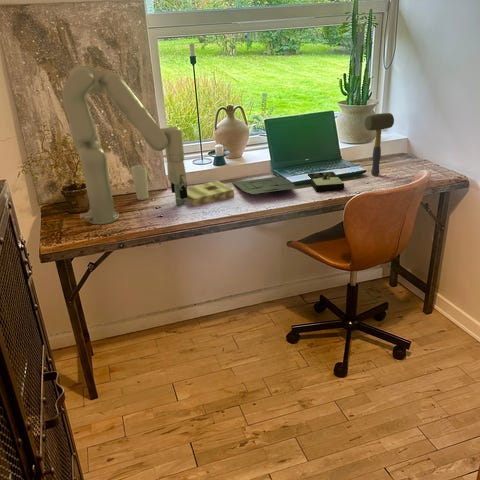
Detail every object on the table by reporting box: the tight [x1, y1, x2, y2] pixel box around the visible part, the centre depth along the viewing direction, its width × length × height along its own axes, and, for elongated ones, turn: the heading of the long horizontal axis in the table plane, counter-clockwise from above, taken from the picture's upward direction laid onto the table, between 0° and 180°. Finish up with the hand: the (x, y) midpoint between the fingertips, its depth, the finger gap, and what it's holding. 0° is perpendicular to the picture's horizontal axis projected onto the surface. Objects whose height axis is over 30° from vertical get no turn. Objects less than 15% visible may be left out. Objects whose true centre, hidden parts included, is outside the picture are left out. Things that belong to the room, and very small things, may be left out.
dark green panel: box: [232, 176, 296, 195], centre depth 224 cm, size 24×30×4 cm
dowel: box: [174, 182, 185, 207], centre depth 209 cm, size 4×4×12 cm
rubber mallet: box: [364, 112, 395, 177], centre depth 229 cm, size 12×8×30 cm, turn 108°
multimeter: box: [307, 171, 345, 193], centre depth 225 cm, size 13×19×5 cm
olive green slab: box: [184, 180, 235, 207], centre depth 218 cm, size 20×16×4 cm
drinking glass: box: [130, 164, 150, 201], centre depth 217 cm, size 7×7×15 cm
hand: (179, 195), depth 209 cm, fingers open, 9 cm apart
